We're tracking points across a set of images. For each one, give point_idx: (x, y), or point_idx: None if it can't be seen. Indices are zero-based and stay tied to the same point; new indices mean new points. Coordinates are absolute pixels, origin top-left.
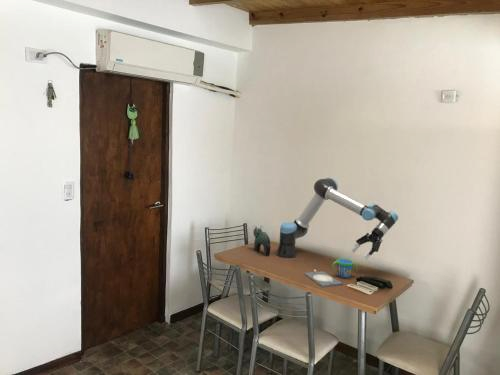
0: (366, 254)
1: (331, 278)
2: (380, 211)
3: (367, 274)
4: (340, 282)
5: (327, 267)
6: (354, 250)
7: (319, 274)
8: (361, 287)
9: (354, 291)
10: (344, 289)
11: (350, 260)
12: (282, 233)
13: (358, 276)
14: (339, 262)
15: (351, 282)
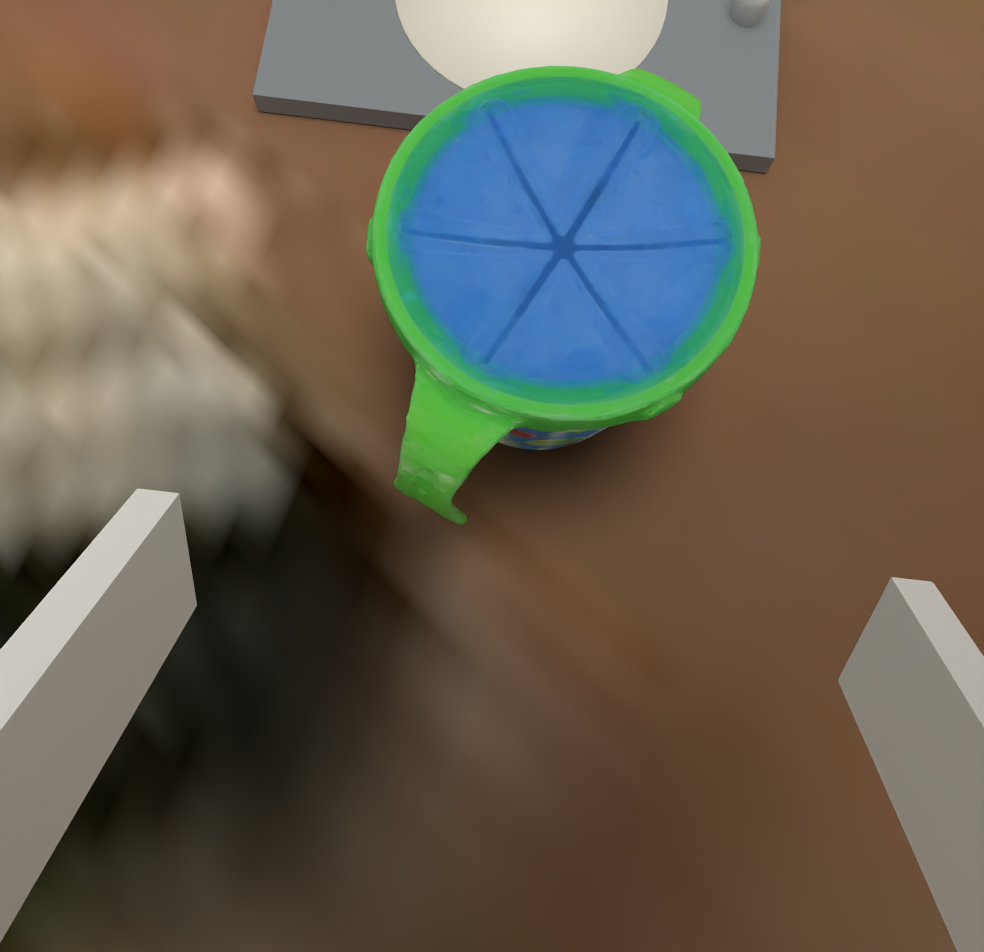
0: (86, 553)
1: (466, 74)
2: None
3: (466, 850)
4: (291, 92)
5: (974, 398)
6: (889, 702)
7: (668, 30)
8: (63, 293)
9: (7, 105)
10: (124, 37)
11: (581, 401)
12: None
13: (444, 599)
14: (541, 68)
15: (280, 296)
